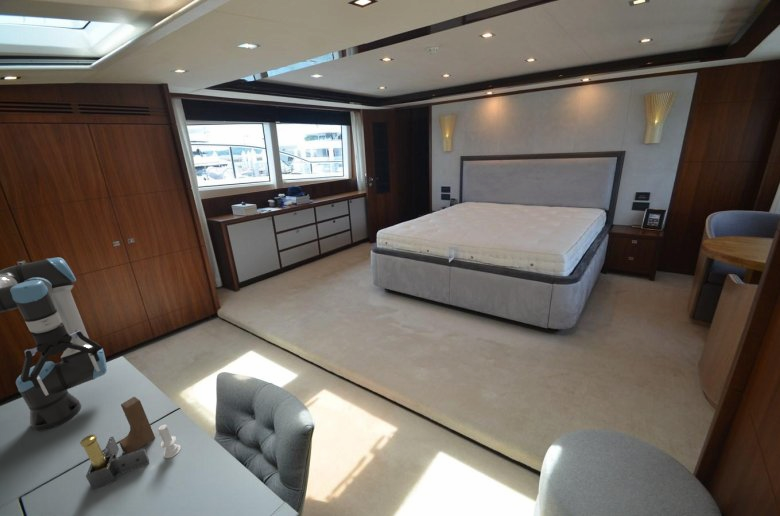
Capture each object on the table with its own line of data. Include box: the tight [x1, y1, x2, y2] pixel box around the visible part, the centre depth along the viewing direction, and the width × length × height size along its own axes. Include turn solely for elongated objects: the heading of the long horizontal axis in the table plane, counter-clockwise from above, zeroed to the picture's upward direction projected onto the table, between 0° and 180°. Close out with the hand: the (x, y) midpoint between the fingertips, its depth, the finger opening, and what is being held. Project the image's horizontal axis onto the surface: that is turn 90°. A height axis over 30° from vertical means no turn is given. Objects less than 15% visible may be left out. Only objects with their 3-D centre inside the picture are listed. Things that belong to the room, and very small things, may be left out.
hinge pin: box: [80, 433, 108, 471], centre depth 109 cm, size 4×4×17 cm
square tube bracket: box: [85, 436, 150, 490], centre depth 116 cm, size 15×15×6 cm
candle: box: [158, 423, 182, 459], centre depth 117 cm, size 5×5×12 cm
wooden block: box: [119, 396, 156, 455], centre depth 120 cm, size 9×4×18 cm, turn 148°
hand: (73, 381), depth 115 cm, fingers open, 13 cm apart
